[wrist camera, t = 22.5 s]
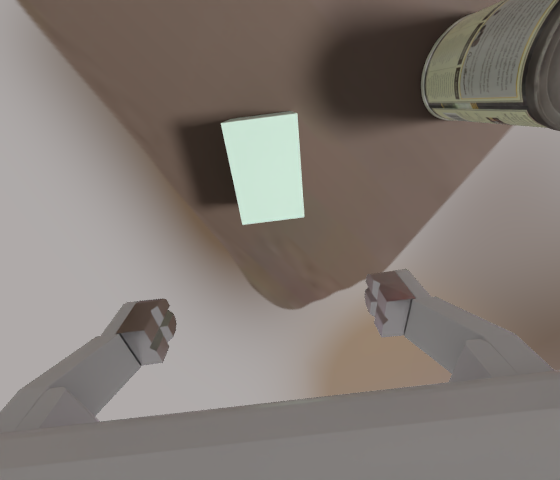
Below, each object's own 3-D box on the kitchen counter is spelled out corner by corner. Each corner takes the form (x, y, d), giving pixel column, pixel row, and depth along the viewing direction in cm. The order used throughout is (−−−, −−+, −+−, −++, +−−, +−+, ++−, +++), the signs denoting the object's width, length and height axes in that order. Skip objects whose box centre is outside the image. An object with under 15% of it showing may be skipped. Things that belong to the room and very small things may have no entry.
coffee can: (524, -2, 25) (779, -107, 12) (500, 109, 30) (663, 113, 17) (423, 25, 25) (569, -49, 13) (416, 129, 30) (517, 146, 18)
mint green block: (230, 118, 29) (220, 123, 23) (290, 111, 29) (297, 113, 22) (246, 202, 34) (242, 224, 28) (297, 196, 34) (304, 217, 28)
